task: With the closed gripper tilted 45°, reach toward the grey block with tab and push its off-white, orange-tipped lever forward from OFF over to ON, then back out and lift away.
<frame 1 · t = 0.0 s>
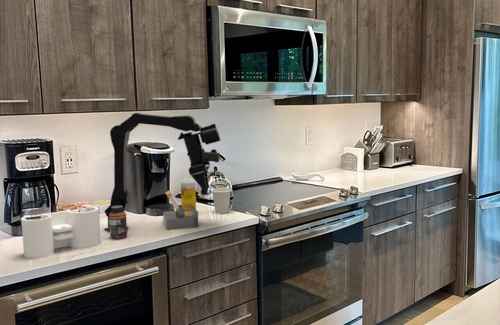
hand: (205, 187, 186), 15 cm above the countertop, tool pointing down, fingers open, 9 cm apart
white twin cylinder holder: (64, 249, 164), on the countertop
supplement bottle: (118, 237, 176), on the countertop
breaker lever: (173, 202, 192), point 9 cm above the countertop, hinge at -28.0°
grey block with tab: (180, 224, 194), on the countertop
yellow jar: (189, 214, 211), on the countertop
dixie cup: (222, 212, 213), on the countertop
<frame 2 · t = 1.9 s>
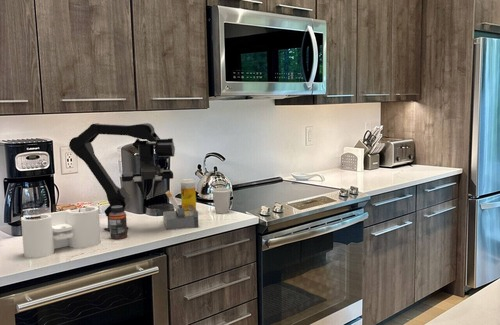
hand: (148, 198, 186), 12 cm above the countertop, tool pointing down, fingers open, 3 cm apart
nothing on the countertop moved.
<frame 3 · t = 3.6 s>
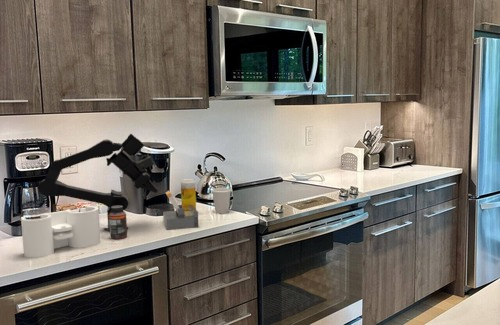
hand: (157, 191, 190), 14 cm above the countertop, tool tilted 45°, fingers closed
nothing on the countertop moved.
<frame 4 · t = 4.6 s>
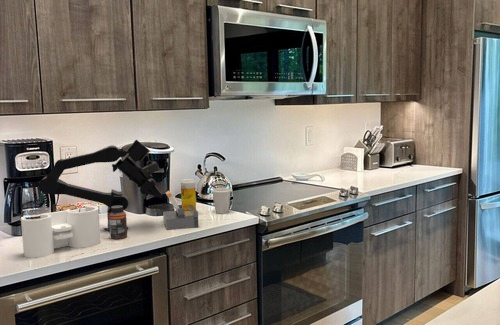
hand: (162, 197, 191), 11 cm above the countertop, tool tilted 45°, fingers closed
nothing on the countertop moved.
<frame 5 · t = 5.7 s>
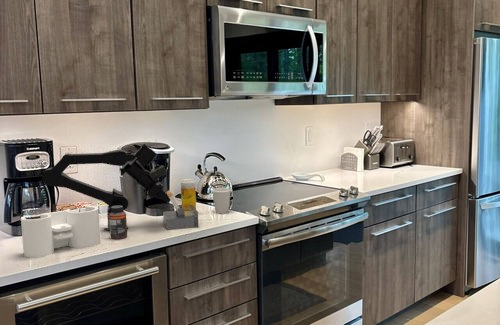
hand: (169, 200, 191), 10 cm above the countertop, tool tilted 45°, fingers closed, pressing on breaker lever
breaker lever: (173, 201, 192), point 9 cm above the countertop, hinge at -26.4°, touching gripper
everything else where it was.
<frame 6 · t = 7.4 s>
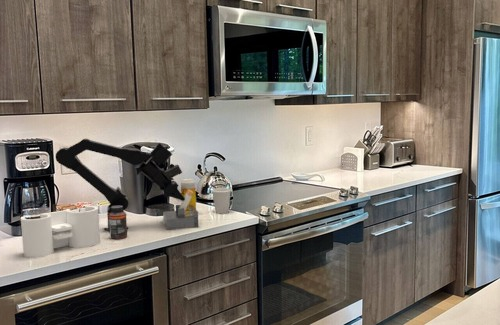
hand: (184, 199, 193), 10 cm above the countertop, tool tilted 45°, fingers closed, pressing on breaker lever
breaker lever: (185, 201, 193), point 9 cm above the countertop, hinge at 28.4°, touching gripper
everything else where it was.
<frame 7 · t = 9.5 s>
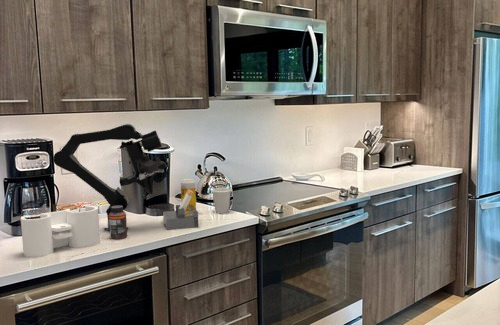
hand: (151, 194, 188), 13 cm above the countertop, tool tilted 20°, fingers closed
breaker lever: (185, 201, 193), point 9 cm above the countertop, hinge at 28.5°
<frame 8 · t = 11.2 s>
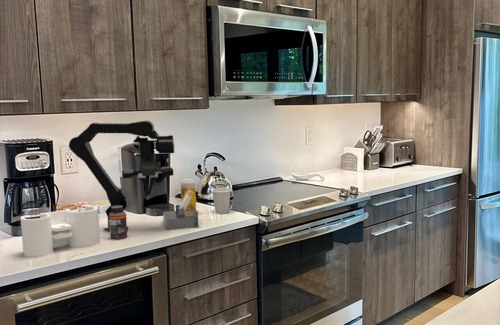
hand: (148, 194, 187), 13 cm above the countertop, tool pointing down, fingers closed
at the end: breaker lever at +28° (first picture: -28°) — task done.
